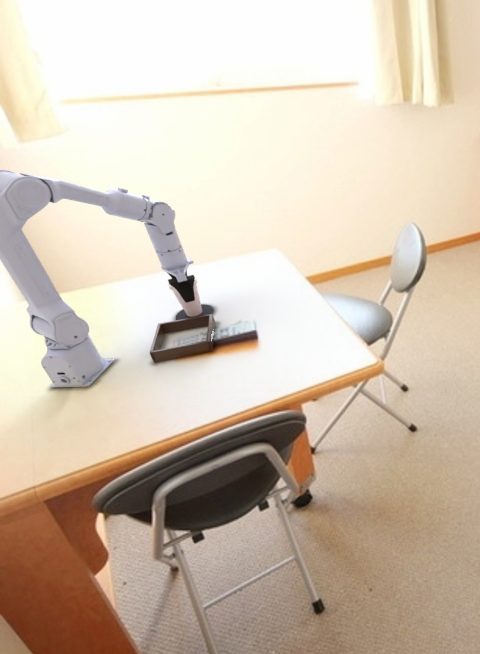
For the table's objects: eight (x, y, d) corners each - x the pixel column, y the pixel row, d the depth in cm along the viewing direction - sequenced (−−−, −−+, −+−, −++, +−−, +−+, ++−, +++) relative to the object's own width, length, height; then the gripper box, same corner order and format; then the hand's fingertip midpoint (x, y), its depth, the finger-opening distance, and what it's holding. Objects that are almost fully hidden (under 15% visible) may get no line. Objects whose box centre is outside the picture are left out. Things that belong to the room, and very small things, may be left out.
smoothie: (188, 322, 127) (168, 274, 120) (176, 313, 131) (156, 267, 123) (212, 311, 132) (195, 265, 124) (200, 304, 135) (183, 258, 127)
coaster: (204, 323, 128) (204, 321, 128) (169, 323, 127) (168, 322, 127) (219, 305, 135) (218, 304, 135) (186, 305, 135) (185, 304, 135)
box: (212, 351, 118) (208, 341, 116) (154, 363, 114) (149, 352, 112) (215, 323, 128) (212, 313, 126) (162, 333, 124) (158, 323, 122)
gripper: (192, 253, 118) (210, 301, 125) (181, 234, 127) (198, 280, 135) (158, 261, 114) (179, 310, 122) (150, 240, 124) (169, 287, 131)
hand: (187, 295), depth 128 cm, fingers open, 7 cm apart
